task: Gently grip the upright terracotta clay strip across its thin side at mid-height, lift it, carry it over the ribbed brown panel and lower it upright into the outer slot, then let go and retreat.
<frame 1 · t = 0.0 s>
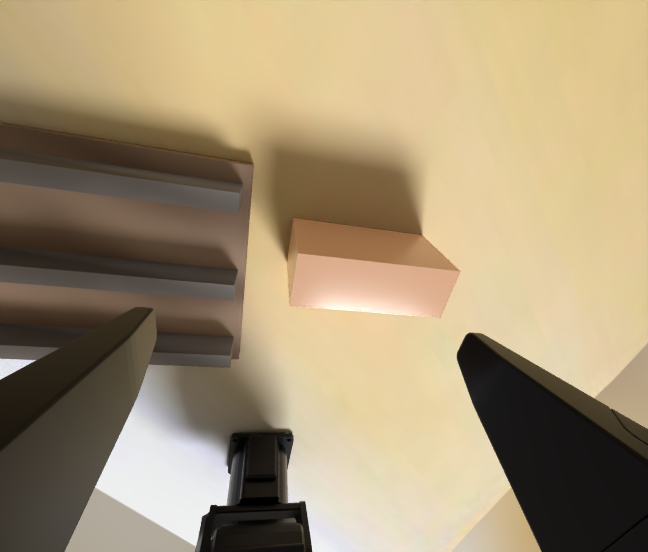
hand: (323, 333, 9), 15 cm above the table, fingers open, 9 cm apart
terracotta strip: (354, 247, 24), on the table
ribbed brown panel: (98, 258, 22), on the table
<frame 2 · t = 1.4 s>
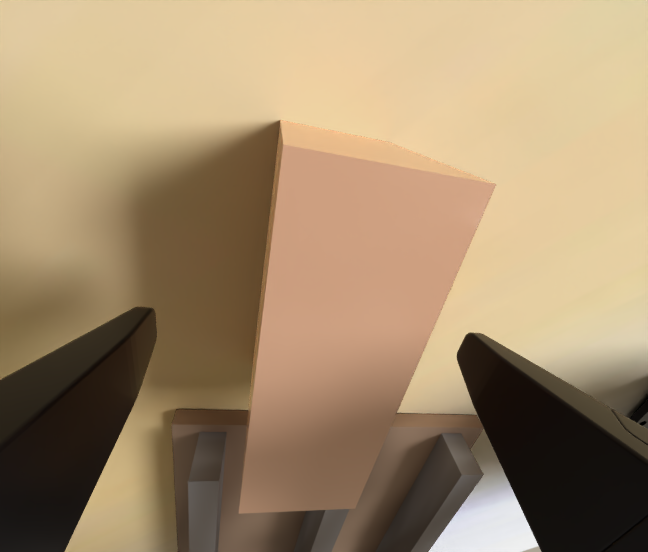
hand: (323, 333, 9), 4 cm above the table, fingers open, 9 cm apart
terracotta strip: (309, 269, 12), on the table
ribbed brown panel: (309, 513, 21), on the table
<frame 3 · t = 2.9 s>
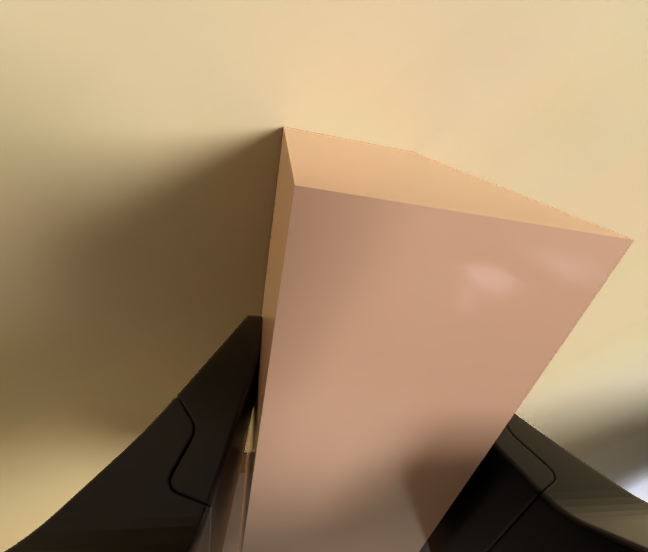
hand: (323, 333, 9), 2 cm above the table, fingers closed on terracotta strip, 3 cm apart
terracotta strip: (317, 302, 10), on the table, touching gripper
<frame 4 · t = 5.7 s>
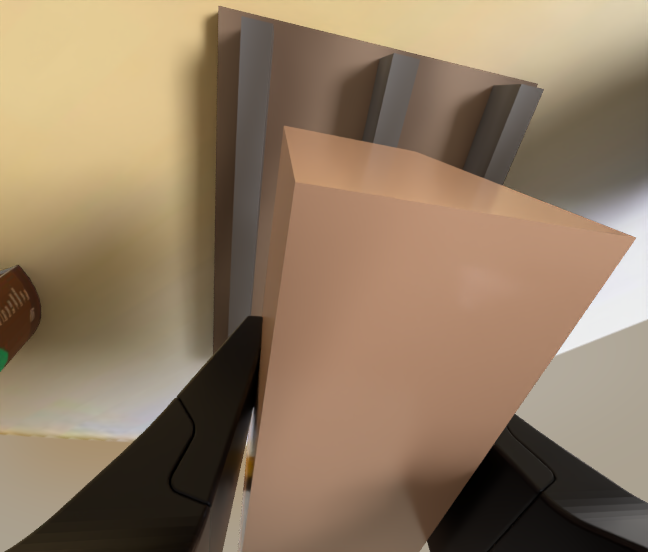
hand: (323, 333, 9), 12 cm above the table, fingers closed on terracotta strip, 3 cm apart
terracotta strip: (317, 302, 10), point 10 cm above the table, touching gripper
ribbed brown panel: (347, 237, 20), on the table
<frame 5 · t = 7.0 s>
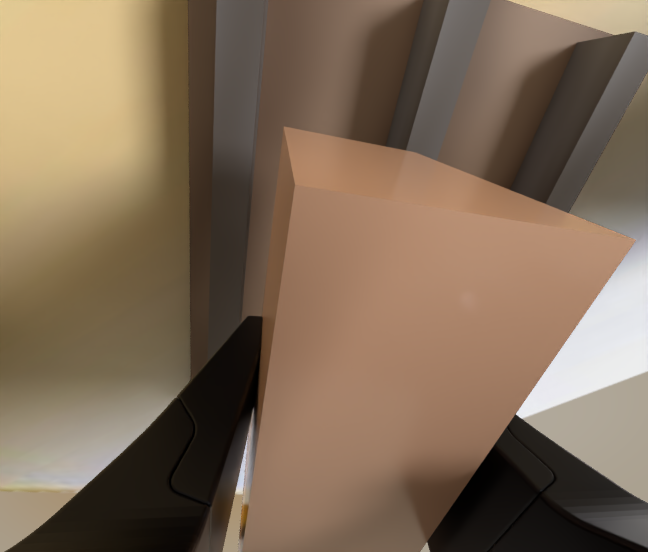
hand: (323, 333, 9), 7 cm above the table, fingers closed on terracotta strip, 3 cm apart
terracotta strip: (317, 302, 10), point 5 cm above the table, touching gripper
ribbed brown panel: (365, 248, 16), on the table
when the fingers open (4 cm above the table, at t = 8.4 s): terracotta strip drops 1 cm, resting on ribbed brown panel.
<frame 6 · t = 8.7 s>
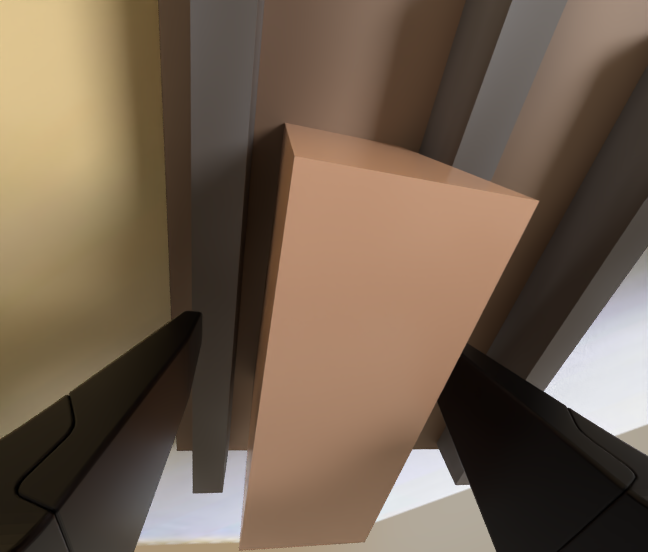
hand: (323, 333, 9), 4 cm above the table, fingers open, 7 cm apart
terracotta strip: (314, 281, 12), point 1 cm above the table, touching ribbed brown panel
ribbed brown panel: (385, 279, 13), on the table
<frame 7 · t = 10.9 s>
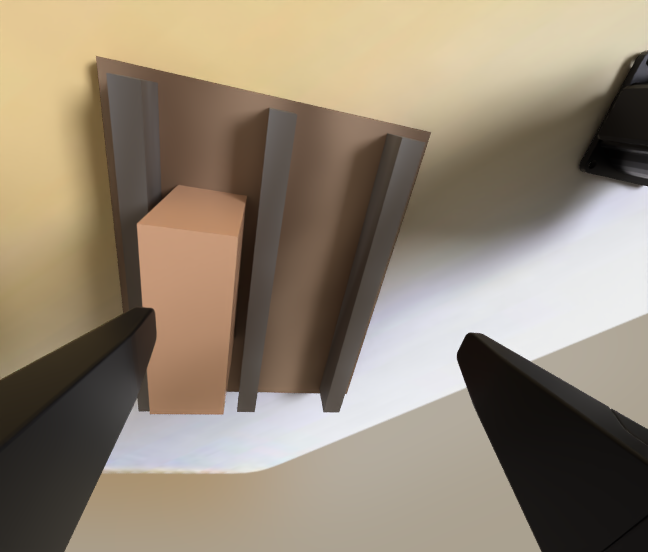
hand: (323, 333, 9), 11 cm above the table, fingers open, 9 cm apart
terracotta strip: (209, 272, 19), point 1 cm above the table, touching ribbed brown panel
ribbed brown panel: (261, 272, 21), on the table
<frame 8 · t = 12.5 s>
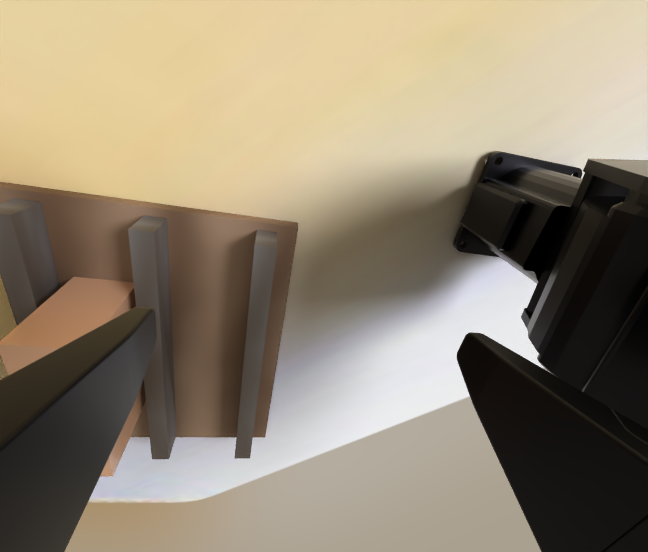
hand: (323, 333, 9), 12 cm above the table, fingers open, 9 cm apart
terracotta strip: (115, 343, 22), point 1 cm above the table, touching ribbed brown panel
ribbed brown panel: (167, 338, 23), on the table
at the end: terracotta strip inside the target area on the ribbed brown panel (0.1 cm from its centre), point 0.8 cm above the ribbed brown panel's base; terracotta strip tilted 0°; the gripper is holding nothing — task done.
